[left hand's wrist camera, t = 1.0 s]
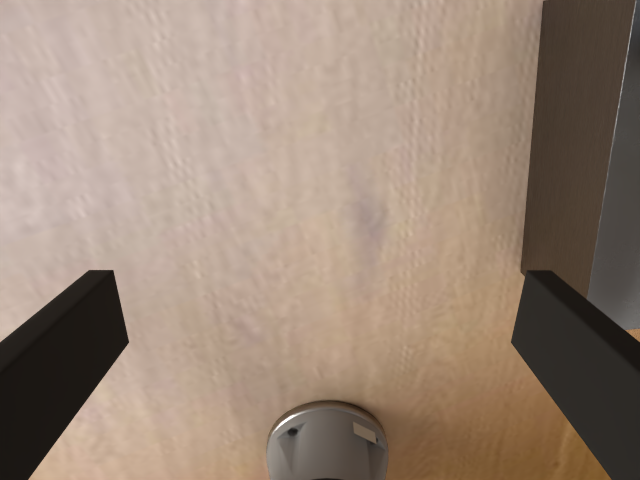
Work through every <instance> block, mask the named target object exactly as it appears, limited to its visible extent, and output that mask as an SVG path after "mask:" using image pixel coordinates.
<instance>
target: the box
mask: <svg viewBox="0 0 640 480" xmlns="http://www.w3.org/2000/svg"><path fill="white" fill-rule="evenodd" d="M527 270H551V271H552V272H554V273H555V274H556V275H557V276H559V277H560V278H561V279H562V280H564V281H565V282H566V283H567V284H568V285H570V286H571V287H572V288H573V289H575V290H576V291H577V292H578V293H580V294H581V295H582V296H583V297H584V298H586V299H587V300H588V301H589V302H591V303H592V304H593V305H594V306H596V307H597V308H598V309H599V310H600V311H602V312H603V313H604V314H605V315H607V316H608V317H609V318H610V319H612V320H613V321H614V322H615V323H616V324H618V325H619V326H620V327H621V328H623V329H624V330H629V329H639V328H640V0H546V1H543V11H542V23H541V35H540V47H539V58H538V70H537V82H536V94H535V106H534V118H533V130H532V142H531V154H530V166H529V178H528V190H527V202H526V214H525V226H524V238H523V250H522V262H521V273H522V274H523V275H524V276H526V271H527Z"/></svg>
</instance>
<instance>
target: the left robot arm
mask: <svg viewBox="0 0 640 480" xmlns="http://www.w3.org/2000/svg"><path fill="white" fill-rule="evenodd" d="M128 343H129V340H128V335H127V331H126V326H125V322H124V317H123V313H122V308H121V303H120V299H119V294H118V290H117V285H116V281H115V276H114V271H113V270H89V271H88V272H86V273H85V274H84V275H83V276H81V277H80V278H79V279H78V280H76V281H75V282H74V283H73V284H72V285H70V286H69V287H68V288H67V289H65V290H64V291H63V292H62V293H60V294H59V295H58V296H57V297H56V298H54V299H53V300H52V301H51V302H49V303H48V304H47V305H46V306H44V307H43V308H42V309H41V310H40V311H38V312H37V313H36V314H35V315H33V316H32V317H31V318H30V319H28V320H27V321H26V322H25V323H24V324H22V325H21V326H20V327H19V328H17V329H16V330H15V331H14V332H12V333H11V334H10V335H9V336H8V337H6V338H5V339H4V340H3V341H1V342H0V480H28V479H29V478H30V476H31V475H32V474H33V472H34V471H35V470H36V468H37V467H38V465H39V464H40V463H41V461H42V460H43V459H44V457H45V456H46V455H47V453H48V452H49V450H50V449H51V448H52V446H53V445H54V444H55V442H56V441H57V440H58V438H59V437H60V436H61V434H62V433H63V431H64V430H65V429H66V427H67V426H68V425H69V423H70V422H71V421H72V419H73V418H74V416H75V415H76V414H77V412H78V411H79V410H80V408H81V407H82V406H83V404H84V403H85V402H86V400H87V399H88V397H89V396H90V395H91V393H92V392H93V391H94V389H95V388H96V387H97V385H98V384H99V383H100V381H101V380H102V378H103V377H104V376H105V374H106V373H107V372H108V370H109V369H110V368H111V366H112V365H113V363H114V362H115V361H116V359H117V358H118V357H119V355H120V354H121V353H122V351H123V350H124V349H125V347H126V346H127V344H128ZM511 343H512V344H513V346H514V347H515V349H516V350H517V351H518V353H519V354H520V355H521V357H522V358H523V359H524V361H525V362H526V363H527V365H528V366H529V368H530V369H531V370H532V372H533V373H534V374H535V376H536V377H537V378H538V380H539V381H540V383H541V384H542V385H543V387H544V388H545V389H546V391H547V392H548V393H549V395H550V396H551V397H552V399H553V400H554V402H555V403H556V404H557V406H558V407H559V408H560V410H561V411H562V412H563V414H564V415H565V416H566V418H567V419H568V421H569V422H570V423H571V425H572V426H573V427H574V429H575V430H576V431H577V433H578V434H579V436H580V437H581V438H582V440H583V441H584V442H585V444H586V445H587V446H588V448H589V449H590V450H591V452H592V453H593V455H594V456H595V457H596V459H597V460H598V461H599V463H600V464H601V465H602V467H603V468H604V470H605V471H606V472H607V474H608V475H609V476H610V478H611V479H612V480H640V342H639V341H637V340H636V339H635V338H634V337H632V336H631V335H630V334H629V333H628V332H626V331H625V330H624V329H623V328H621V327H620V326H619V325H618V324H616V323H615V322H614V321H613V320H612V319H610V318H609V317H608V316H607V315H605V314H604V313H603V312H602V311H600V310H599V309H598V308H597V307H596V306H594V305H593V304H592V303H591V302H589V301H588V300H587V299H586V298H584V297H583V296H582V295H581V294H580V293H578V292H577V291H576V290H575V289H573V288H572V287H571V286H570V285H568V284H567V283H566V282H565V281H564V280H562V279H561V278H560V277H559V276H557V275H556V274H555V273H554V272H552V271H551V270H527V271H526V276H525V281H524V285H523V290H522V294H521V299H520V303H519V308H518V313H517V317H516V322H515V326H514V331H513V335H512V340H511ZM266 453H267V466H268V471H269V476H270V480H385V476H386V471H387V465H388V446H387V440H386V435H385V432H384V430H383V428H382V426H381V425H380V423H379V422H378V421H377V420H376V419H375V418H374V417H373V416H372V415H370V414H369V413H367V412H366V411H364V410H362V409H360V408H358V407H356V406H353V405H350V404H346V403H342V402H333V401H321V402H313V403H308V404H304V405H301V406H298V407H296V408H294V409H292V410H290V411H288V412H287V413H285V414H284V415H283V416H281V417H280V418H279V419H278V420H277V421H276V423H275V424H274V425H273V427H272V429H271V431H270V434H269V437H268V443H267V452H266Z"/></svg>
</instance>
